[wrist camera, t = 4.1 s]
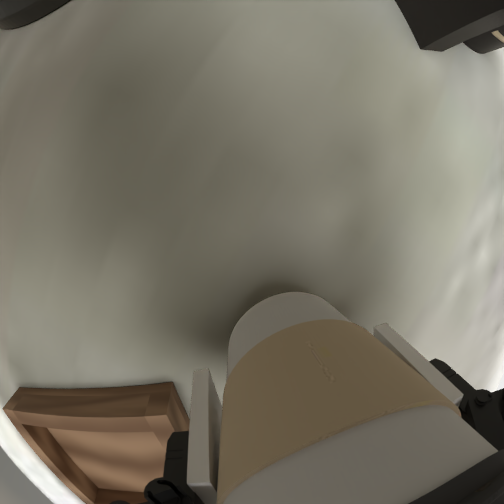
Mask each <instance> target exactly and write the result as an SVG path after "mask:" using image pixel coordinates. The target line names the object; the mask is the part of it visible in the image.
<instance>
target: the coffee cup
mask: <svg viewBox="0 0 504 504" xmlns="http://www.w3.org/2000/svg"><path fill="white" fill-rule="evenodd" d="M217 504H504V449H503V450H500V451H498V450H496V449H495V448H494V447H493V446H492V445H491V444H490V443H489V442H488V441H487V440H485V439H484V438H483V437H482V436H481V435H480V434H479V433H478V432H476V431H475V430H474V429H473V428H472V427H471V426H470V425H469V424H468V423H466V422H465V421H464V420H463V419H462V418H461V412H460V410H459V408H458V407H457V406H456V405H455V404H454V403H453V402H451V401H450V400H449V399H448V398H447V397H446V396H444V395H443V394H442V393H441V392H440V391H438V390H437V389H436V388H435V387H434V386H433V385H431V384H430V383H429V382H428V381H427V380H426V379H424V378H423V377H422V376H421V375H420V374H418V373H417V372H416V371H415V370H414V369H412V368H411V367H410V366H409V365H408V364H407V363H405V362H404V361H403V360H402V359H401V358H399V357H398V356H397V355H396V354H395V353H393V352H392V351H391V350H390V349H389V348H387V347H386V346H385V345H384V344H383V343H381V342H380V341H379V340H378V339H377V338H375V337H374V336H373V335H372V334H371V333H369V332H368V331H367V330H365V329H364V328H362V327H361V326H359V325H357V324H354V323H352V322H351V321H349V320H348V319H347V318H346V317H345V316H344V315H342V314H341V313H340V312H339V311H338V310H336V309H335V308H334V307H333V306H332V305H331V304H329V303H328V302H327V301H326V300H324V299H322V298H321V297H319V296H316V295H313V294H310V293H305V292H287V293H281V294H277V295H274V296H271V297H269V298H266V299H264V300H262V301H261V302H259V303H257V304H256V305H254V306H253V307H252V308H250V309H249V310H248V311H247V312H246V313H245V314H244V315H243V316H242V317H241V318H240V320H239V321H238V322H237V324H236V325H235V327H234V329H233V331H232V333H231V336H230V340H229V345H228V361H227V380H226V385H225V389H224V394H223V407H222V421H221V436H220V452H219V469H218V486H217Z"/></svg>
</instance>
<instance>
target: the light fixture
mask: <svg viewBox="0 0 504 504" xmlns="http://www.w3.org/2000/svg"><path fill="white" fill-rule="evenodd" d="M395 1H396V3H397V5H398V6H399V8H400V10H401V12H402V13H403V15H404V17H405V19H406V21H407V23H408V25H409V26H410V28H411V30H412V32H413V34H414V36H415V38H416V41H417V43H418V45H419V47H420V49H425V50H434V51H444V50H447V49H449V48H451V47H453V46H455V45H457V44H459V43H462V42H464V43H465V44H466V45H467V46H468V47H470V48H471V49H472V50H474V51H476V52H478V53H481V54H484V53H487V52H490V51H493V50H496V49H499V48H502V47H504V0H395Z"/></svg>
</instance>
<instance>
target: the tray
mask: <svg viewBox="0 0 504 504" xmlns="http://www.w3.org/2000/svg"><path fill="white" fill-rule="evenodd" d="M3 410H4V412H5V413H6V415H7V416H8V418H9V419H10V420H11V422H12V423H13V425H14V426H15V427H16V429H17V430H18V431H19V433H20V434H21V435H22V437H23V438H24V439H25V441H26V442H27V443H28V444H29V446H30V447H31V448H32V449H33V450H34V452H35V453H36V454H37V455H38V456H39V457H40V459H41V460H42V461H43V462H44V463H45V464H46V465H47V466H48V467H49V469H50V470H51V471H52V472H53V473H54V474H55V475H56V476H57V477H58V478H59V479H60V480H61V481H62V482H63V483H64V484H65V485H66V486H67V487H68V488H69V489H70V490H71V491H72V492H73V493H75V494H76V495H77V496H78V497H79V498H80V499H81V500H82V501H83V502H85V503H86V504H110V503H111V502H113V501H117V500H122V501H126V502H128V503H130V504H138V503H143V502H147V500H146V499H145V498H144V489H145V486H146V485H147V484H148V483H149V482H150V481H152V480H154V479H155V478H160V477H163V473H164V463H165V455H166V447H167V441H168V439H169V437H170V436H171V434H172V433H173V432H181V431H189V425H190V420H189V418H188V416H187V414H186V411H185V409H184V407H183V405H182V403H181V400H180V398H179V396H178V394H177V391H176V389H175V387H174V384H173V382H168V383H159V384H150V385H139V386H127V387H112V388H89V389H43V388H22V387H19V388H18V390H17V391H16V392H15V393H14V395H13V396H12V397H11V398H10V400H9V401H8V402H7V404H6V405H5V406H4V407H3Z"/></svg>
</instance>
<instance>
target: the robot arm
mask: <svg viewBox="0 0 504 504" xmlns="http://www.w3.org/2000/svg"><path fill="white" fill-rule="evenodd" d="M68 1H69V0H0V28H2V29H13V28H17V27H21V26H23V25H26V24H28V23H31V22H33V21H35V20H37V19H39V18H41V17H43V16H45V15H46V14H48V13H50V12H52V11H53V10H55V9H57V8H58V7H60V6H61V5H63V4H65V3H66V2H68ZM374 337H375V338H377V339H378V340H379V341H380V342H381V343H383V344H384V345H385V346H386V347H387V348H389V349H390V350H391V351H392V352H393V353H395V354H396V355H397V356H398V357H399V358H401V359H402V360H403V361H404V362H405V363H407V364H408V365H409V366H410V367H411V368H412V369H414V370H415V371H416V372H417V373H418V374H420V375H421V376H422V377H423V378H424V379H426V380H427V381H428V382H429V383H430V384H431V385H433V386H434V387H435V388H436V389H437V390H438V391H440V392H441V393H442V394H443V395H444V396H446V397H447V398H448V399H449V400H450V401H451V402H453V403H454V404H455V405H456V406H457V407H458V408H459V410H460V412H461V418H462V419H463V420H464V421H465V422H466V423H468V424H469V425H470V426H471V427H472V428H473V429H474V430H475V431H476V432H478V433H479V434H480V435H481V436H482V437H483V438H484V439H485V440H487V441H488V442H489V443H490V444H491V445H492V446H493V447H494V448H495V449H496V450H498V451H500V450H503V449H504V388H503V389H501V390H498V391H495V392H492V393H491V392H489V391H488V390H484V389H481V390H475V389H474V388H473V387H472V386H471V385H470V384H469V383H467V382H466V381H465V380H464V379H463V378H462V377H461V376H460V375H459V374H456V372H455V371H454V370H453V369H451V367H450V366H448V365H447V364H446V363H445V362H443V361H441V360H438V359H436V358H435V359H433V360H431V361H428V360H427V359H425V358H424V357H423V356H422V355H421V354H420V353H419V352H418V351H417V350H416V349H415V348H413V347H412V346H411V345H410V344H409V343H408V342H407V341H406V340H405V339H403V338H402V337H401V336H400V335H399V334H398V333H397V332H396V331H395V330H393V329H392V328H391V327H390V326H389V325H388V324H387V323H384V324H381V325H378V326H375V327H374ZM221 421H222V405H221V402H220V400H219V397H218V394H217V391H216V389H215V386H214V383H213V380H212V377H211V374H210V371H209V369H203V370H196V371H194V373H193V384H192V397H191V410H190V425H189V431H181V432H173V433H172V434H171V436H170V437H169V439H168V441H167V447H166V455H165V463H164V473H163V477H160V478H155V479H154V480H152V481H150V482H149V483H148V484H147V485H146V486H145V489H144V498H145V499H146V500H147V502H143V503H138V504H217V486H218V469H219V452H220V436H221ZM110 504H130V503H128V502H126V501H122V500H117V501H113V502H111V503H110Z"/></svg>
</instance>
